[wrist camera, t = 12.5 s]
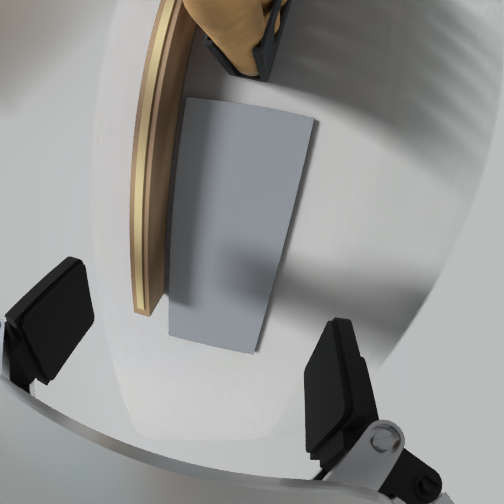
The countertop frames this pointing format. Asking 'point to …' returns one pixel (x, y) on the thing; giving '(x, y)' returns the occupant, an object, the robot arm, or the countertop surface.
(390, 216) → the countertop surface
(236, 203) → the flat gray rectangular panel
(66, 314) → the robot arm
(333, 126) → the countertop surface
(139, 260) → the straightedge
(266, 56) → the ammunition clip
